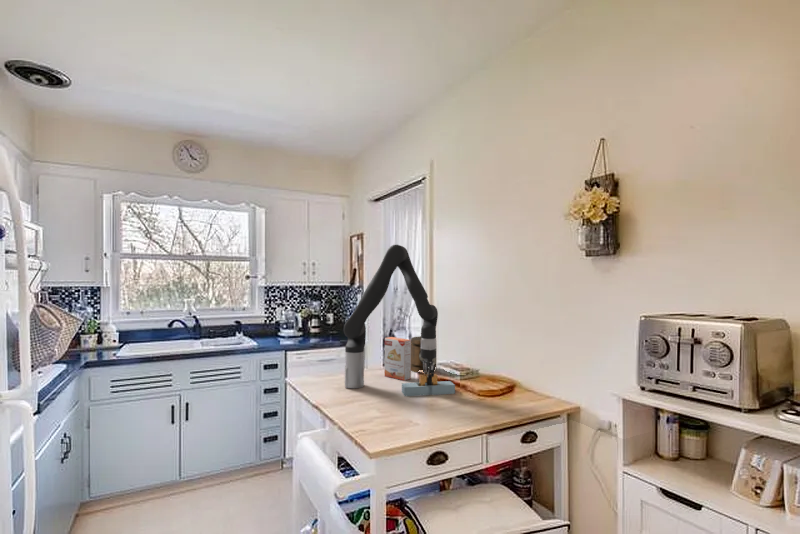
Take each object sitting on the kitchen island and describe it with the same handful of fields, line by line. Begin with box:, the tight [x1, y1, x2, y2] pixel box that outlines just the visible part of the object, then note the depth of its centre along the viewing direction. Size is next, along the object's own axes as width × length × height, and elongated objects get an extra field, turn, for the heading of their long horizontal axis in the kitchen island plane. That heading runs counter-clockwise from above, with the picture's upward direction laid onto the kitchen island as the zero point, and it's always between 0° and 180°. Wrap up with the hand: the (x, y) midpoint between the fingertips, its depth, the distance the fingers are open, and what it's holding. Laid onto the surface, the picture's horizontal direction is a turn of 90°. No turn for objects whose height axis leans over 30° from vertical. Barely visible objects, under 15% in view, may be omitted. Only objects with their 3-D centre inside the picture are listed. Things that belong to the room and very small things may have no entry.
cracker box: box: [384, 336, 412, 381], centre depth 226 cm, size 14×6×21 cm, turn 50°
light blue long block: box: [401, 380, 456, 397], centre depth 199 cm, size 24×7×4 cm, turn 102°
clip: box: [418, 373, 438, 386], centre depth 199 cm, size 8×3×6 cm, turn 102°
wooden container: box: [410, 335, 437, 373], centre depth 243 cm, size 15×15×22 cm
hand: (428, 383), depth 199 cm, fingers open, 3 cm apart
